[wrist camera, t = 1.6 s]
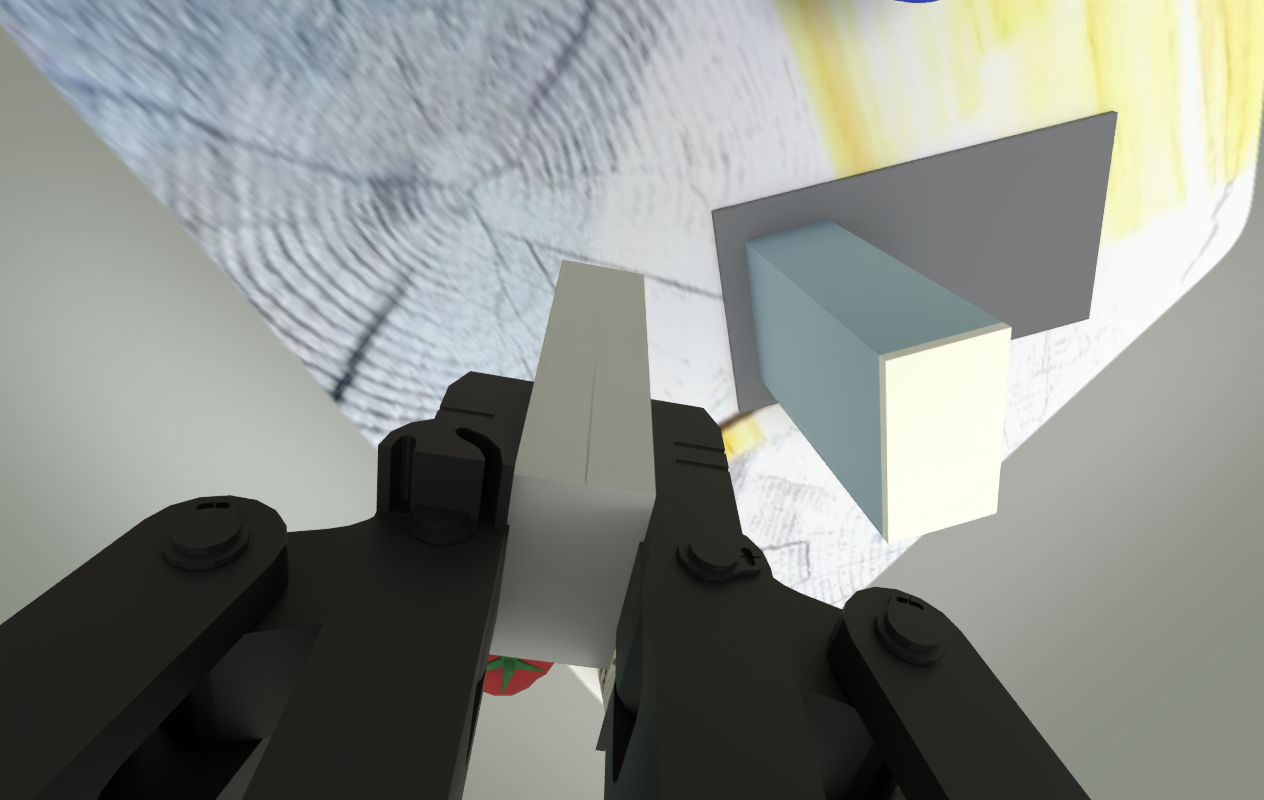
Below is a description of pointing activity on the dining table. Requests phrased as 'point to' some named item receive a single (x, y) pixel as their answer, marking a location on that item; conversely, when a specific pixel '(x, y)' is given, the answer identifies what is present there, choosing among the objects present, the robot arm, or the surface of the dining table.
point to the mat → (951, 230)
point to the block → (882, 376)
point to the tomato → (512, 674)
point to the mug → (917, 1)
